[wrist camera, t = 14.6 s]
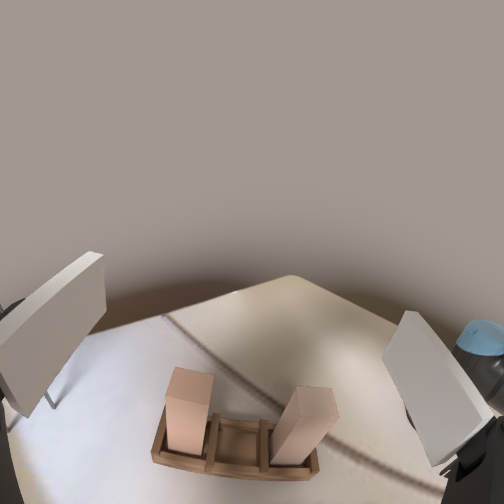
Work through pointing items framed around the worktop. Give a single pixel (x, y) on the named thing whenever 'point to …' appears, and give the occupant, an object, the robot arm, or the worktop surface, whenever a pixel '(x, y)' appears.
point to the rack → (232, 452)
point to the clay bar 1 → (187, 410)
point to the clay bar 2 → (302, 425)
